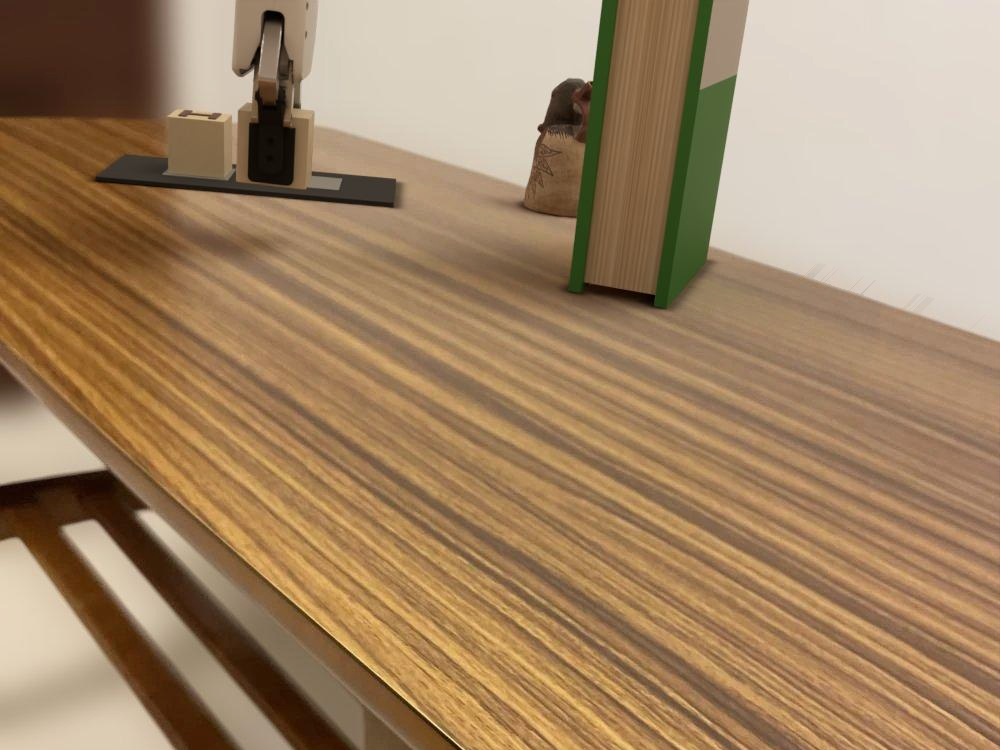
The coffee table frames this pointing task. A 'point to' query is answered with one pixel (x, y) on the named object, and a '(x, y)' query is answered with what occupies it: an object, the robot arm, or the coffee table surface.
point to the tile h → (199, 143)
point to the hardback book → (655, 142)
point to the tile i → (303, 147)
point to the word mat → (319, 187)
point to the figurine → (560, 151)
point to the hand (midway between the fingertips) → (274, 174)
